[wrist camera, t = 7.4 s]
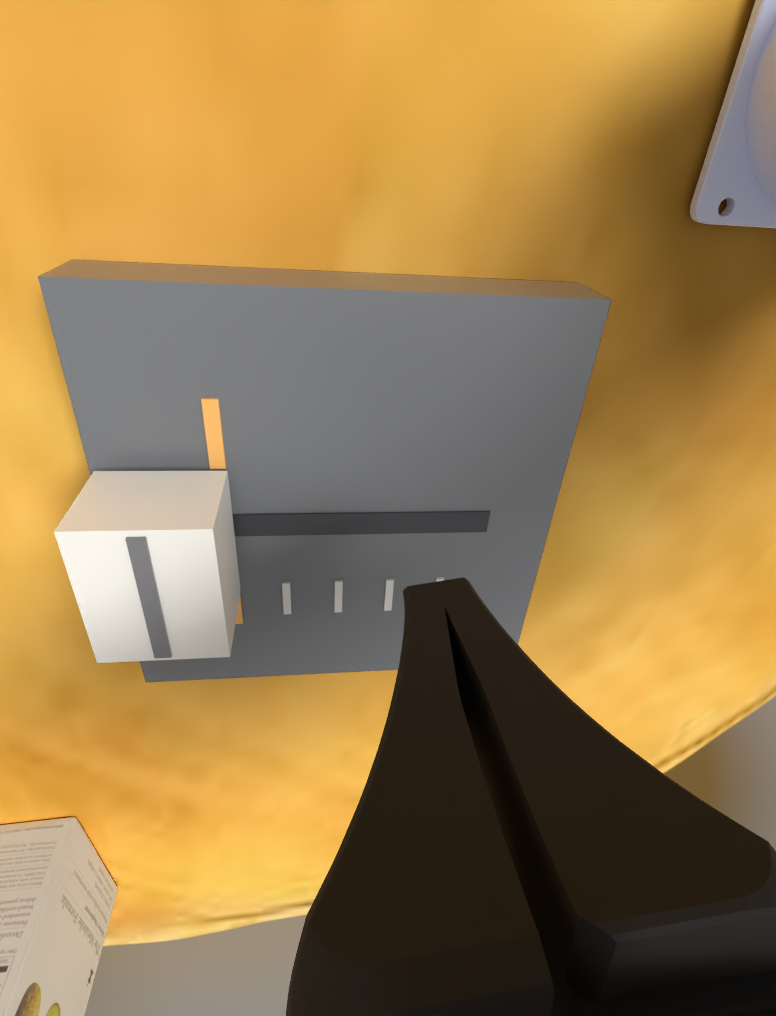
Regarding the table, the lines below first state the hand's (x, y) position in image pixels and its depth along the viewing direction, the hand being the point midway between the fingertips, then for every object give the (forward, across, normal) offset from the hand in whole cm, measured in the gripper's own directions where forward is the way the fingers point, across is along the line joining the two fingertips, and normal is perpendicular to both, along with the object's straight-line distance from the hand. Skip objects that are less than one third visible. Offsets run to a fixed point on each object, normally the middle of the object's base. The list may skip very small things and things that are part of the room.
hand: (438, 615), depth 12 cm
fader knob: (+8, +8, +2) cm, 11 cm away
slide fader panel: (+10, +2, +3) cm, 11 cm away
